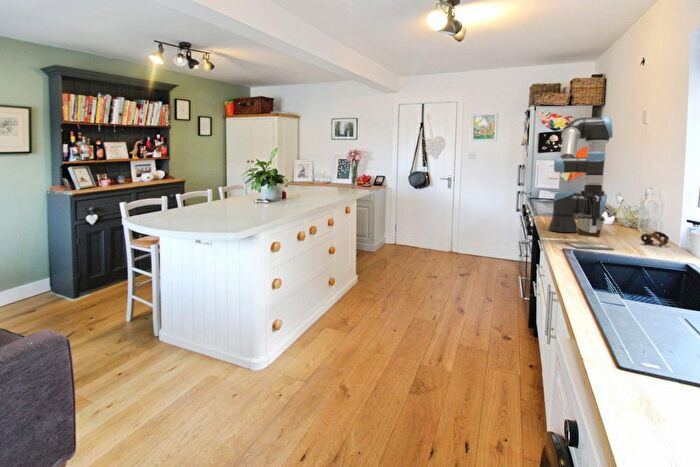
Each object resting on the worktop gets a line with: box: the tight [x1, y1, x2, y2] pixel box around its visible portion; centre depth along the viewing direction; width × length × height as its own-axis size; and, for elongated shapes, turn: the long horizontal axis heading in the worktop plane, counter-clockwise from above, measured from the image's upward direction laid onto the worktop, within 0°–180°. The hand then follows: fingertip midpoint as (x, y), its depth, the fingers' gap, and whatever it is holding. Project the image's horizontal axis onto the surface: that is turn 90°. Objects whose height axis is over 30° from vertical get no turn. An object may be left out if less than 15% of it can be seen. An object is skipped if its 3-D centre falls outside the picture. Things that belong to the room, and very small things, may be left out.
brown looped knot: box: [640, 230, 670, 248], centre depth 217 cm, size 12×9×8 cm
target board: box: [564, 242, 615, 251], centre depth 210 cm, size 18×16×1 cm
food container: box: [575, 214, 606, 239], centre depth 209 cm, size 12×6×10 cm, turn 53°
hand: (589, 231), depth 209 cm, fingers closed on food container, 7 cm apart
